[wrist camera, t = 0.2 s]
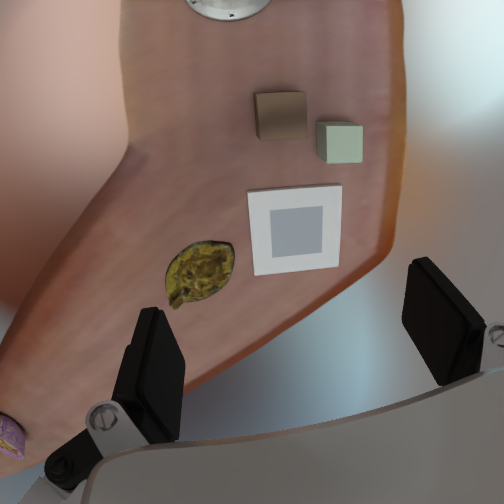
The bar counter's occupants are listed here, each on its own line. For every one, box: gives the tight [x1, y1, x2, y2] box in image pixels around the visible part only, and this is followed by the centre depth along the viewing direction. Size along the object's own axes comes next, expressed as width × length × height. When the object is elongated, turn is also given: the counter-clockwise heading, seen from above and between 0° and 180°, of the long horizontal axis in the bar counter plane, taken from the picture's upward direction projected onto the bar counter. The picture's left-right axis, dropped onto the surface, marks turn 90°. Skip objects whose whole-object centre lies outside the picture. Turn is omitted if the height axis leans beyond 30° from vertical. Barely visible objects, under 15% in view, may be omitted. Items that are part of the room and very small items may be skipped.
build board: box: [247, 184, 342, 276], centre depth 49 cm, size 14×14×1 cm
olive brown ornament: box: [165, 241, 235, 310], centre depth 51 cm, size 9×5×15 cm
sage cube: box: [316, 122, 363, 164], centre depth 41 cm, size 5×5×5 cm
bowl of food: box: [0, 415, 25, 459], centre depth 74 cm, size 20×20×12 cm
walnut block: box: [253, 91, 308, 141], centre depth 39 cm, size 6×6×5 cm
